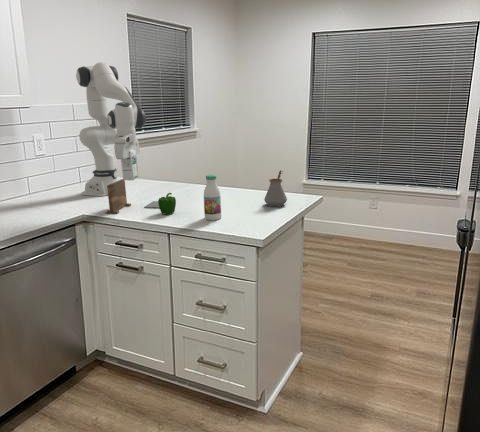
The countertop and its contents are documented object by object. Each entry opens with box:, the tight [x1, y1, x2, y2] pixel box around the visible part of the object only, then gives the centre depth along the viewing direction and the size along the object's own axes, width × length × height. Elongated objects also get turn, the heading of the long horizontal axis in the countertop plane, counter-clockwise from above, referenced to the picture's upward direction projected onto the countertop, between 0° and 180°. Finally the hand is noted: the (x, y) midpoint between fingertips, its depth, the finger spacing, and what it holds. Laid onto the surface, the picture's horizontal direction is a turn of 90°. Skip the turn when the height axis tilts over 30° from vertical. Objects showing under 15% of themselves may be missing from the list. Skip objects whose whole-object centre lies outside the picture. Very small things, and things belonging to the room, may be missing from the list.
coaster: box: [144, 200, 160, 209], centre depth 235 cm, size 12×12×1 cm
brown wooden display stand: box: [105, 178, 132, 215], centre depth 227 cm, size 6×16×14 cm, turn 169°
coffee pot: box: [263, 170, 288, 208], centre depth 232 cm, size 21×12×15 cm, turn 165°
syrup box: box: [120, 149, 139, 181], centre depth 221 cm, size 6×6×14 cm
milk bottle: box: [203, 174, 222, 221], centre depth 206 cm, size 8×8×20 cm
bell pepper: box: [157, 192, 177, 216], centre depth 218 cm, size 8×8×10 cm
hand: (129, 165), depth 222 cm, fingers closed on syrup box, 6 cm apart
